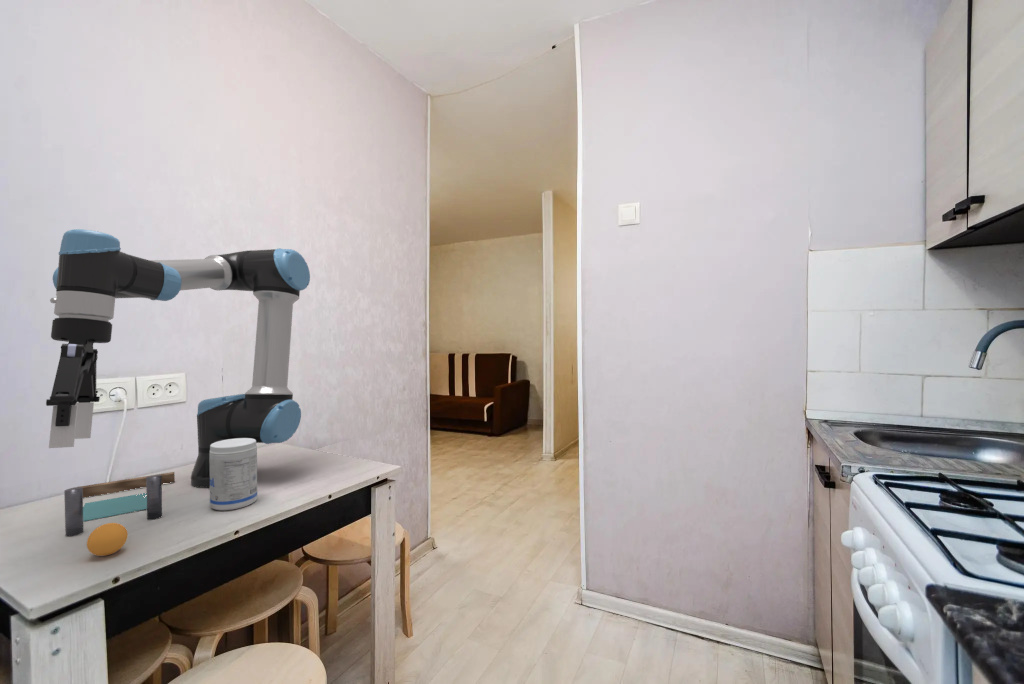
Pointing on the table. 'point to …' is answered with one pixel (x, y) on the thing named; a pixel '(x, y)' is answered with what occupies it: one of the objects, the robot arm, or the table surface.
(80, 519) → the left post
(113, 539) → the ball
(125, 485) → the brown wooden bar
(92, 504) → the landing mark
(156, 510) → the right post
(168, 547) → the table surface
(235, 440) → the supplement tub
